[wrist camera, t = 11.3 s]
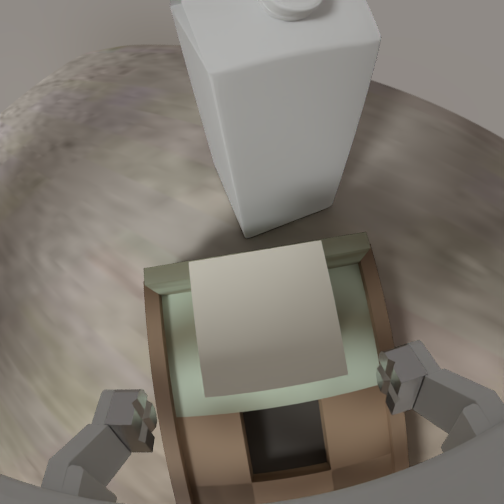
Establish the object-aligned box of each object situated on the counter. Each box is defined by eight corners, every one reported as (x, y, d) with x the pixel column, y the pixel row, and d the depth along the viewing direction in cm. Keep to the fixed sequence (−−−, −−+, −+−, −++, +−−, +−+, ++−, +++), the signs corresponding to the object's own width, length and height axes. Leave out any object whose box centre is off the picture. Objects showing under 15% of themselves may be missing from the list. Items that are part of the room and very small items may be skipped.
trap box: (396, 581, 12) (414, 609, 7) (223, 609, 12) (214, 641, 8) (360, 256, 22) (381, 229, 18) (156, 289, 22) (128, 270, 18)
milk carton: (214, 167, 26) (152, -59, 8) (293, 140, 26) (300, -80, 8) (245, 240, 23) (186, -31, 5) (332, 206, 24) (401, -43, 6)
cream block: (315, 368, 18) (348, 374, 10) (234, 381, 18) (205, 397, 10) (301, 289, 20) (321, 240, 12) (222, 302, 20) (188, 261, 12)
